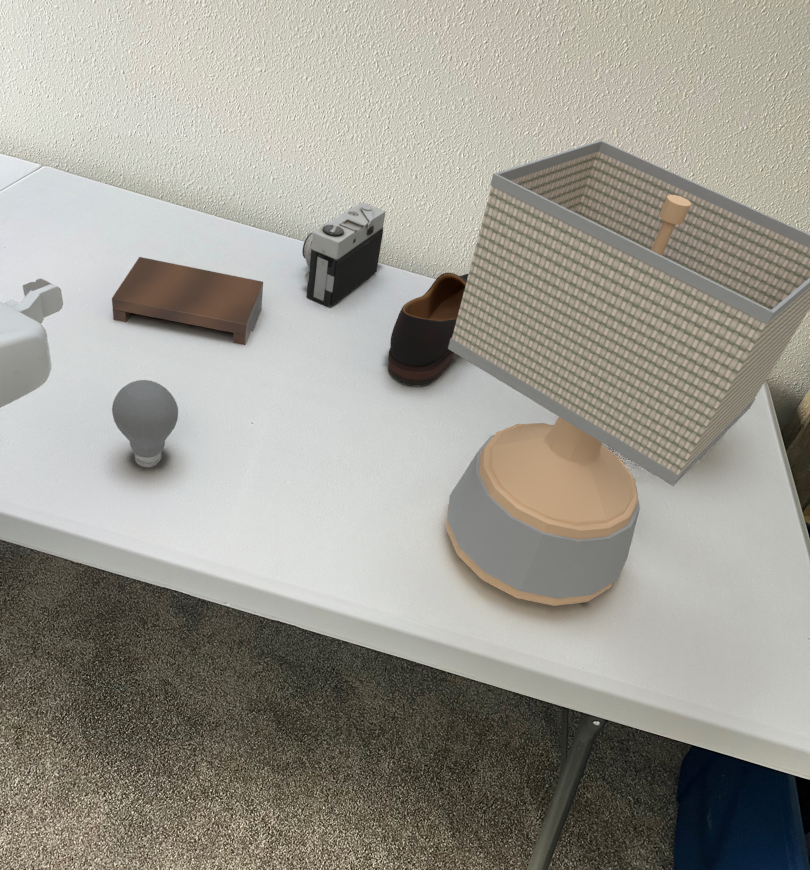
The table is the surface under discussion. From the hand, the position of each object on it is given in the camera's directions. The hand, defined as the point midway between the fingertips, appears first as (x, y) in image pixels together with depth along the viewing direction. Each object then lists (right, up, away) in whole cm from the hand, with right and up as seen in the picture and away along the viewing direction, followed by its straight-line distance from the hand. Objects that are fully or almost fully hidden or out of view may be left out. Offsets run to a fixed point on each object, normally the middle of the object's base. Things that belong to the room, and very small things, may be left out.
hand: (3, 265), depth 53 cm
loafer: (+33, +8, +54) cm, 64 cm away
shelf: (0, +10, +47) cm, 48 cm away
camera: (+17, +19, +60) cm, 65 cm away
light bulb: (+1, -11, +27) cm, 29 cm away
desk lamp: (+40, -20, +29) cm, 53 cm away
